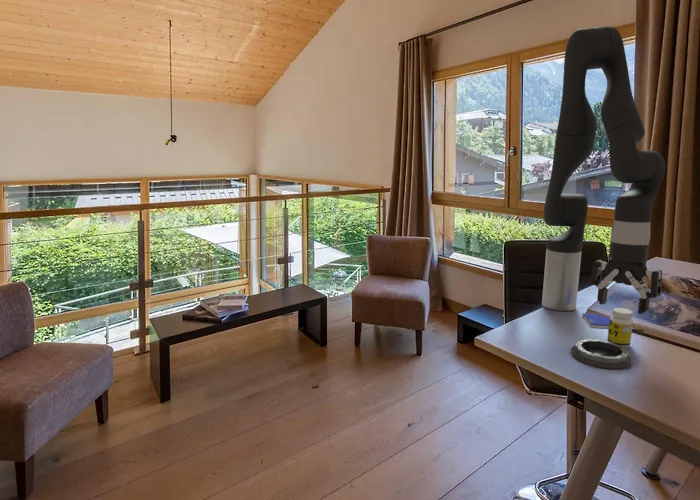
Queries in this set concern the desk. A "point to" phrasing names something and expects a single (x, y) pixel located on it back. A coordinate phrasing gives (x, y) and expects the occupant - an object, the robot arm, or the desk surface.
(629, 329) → the supplement bottle
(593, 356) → the grey flat ring
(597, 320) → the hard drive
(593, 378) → the desk surface
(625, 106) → the robot arm
